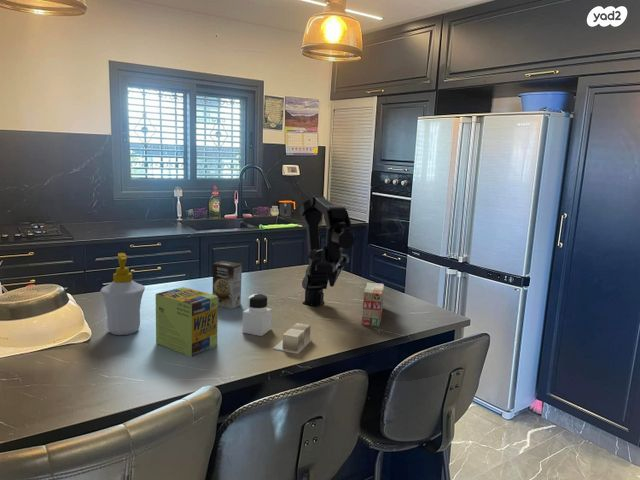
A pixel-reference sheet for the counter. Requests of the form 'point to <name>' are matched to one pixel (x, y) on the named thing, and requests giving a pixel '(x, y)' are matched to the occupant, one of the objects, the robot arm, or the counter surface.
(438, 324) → the counter surface
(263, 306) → the medicine bottle
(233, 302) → the coffee box
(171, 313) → the protein box
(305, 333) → the beech block
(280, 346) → the felt mat
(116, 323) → the soap bottle
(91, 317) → the counter surface
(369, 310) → the stack of blocks
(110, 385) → the counter surface
